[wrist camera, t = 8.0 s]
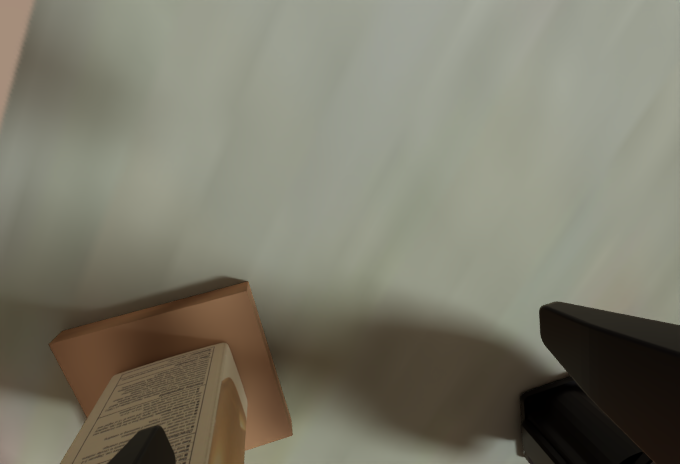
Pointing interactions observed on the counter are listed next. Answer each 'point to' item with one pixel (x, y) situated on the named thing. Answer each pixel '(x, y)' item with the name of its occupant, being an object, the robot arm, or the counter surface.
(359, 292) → the counter surface
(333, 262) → the counter surface
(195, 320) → the brown flat square block
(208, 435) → the skincare box
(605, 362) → the robot arm
